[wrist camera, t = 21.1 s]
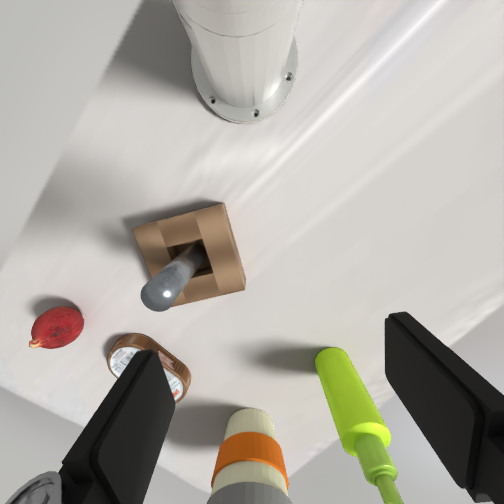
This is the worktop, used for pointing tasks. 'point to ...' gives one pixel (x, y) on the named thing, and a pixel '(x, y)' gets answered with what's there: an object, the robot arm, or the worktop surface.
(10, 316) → the worktop surface
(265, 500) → the reusable coffee cup
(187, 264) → the metal rod
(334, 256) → the worktop surface
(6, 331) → the worktop surface
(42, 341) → the onion
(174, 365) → the tin
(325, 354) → the soap dispenser
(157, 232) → the rod stand
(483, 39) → the worktop surface
